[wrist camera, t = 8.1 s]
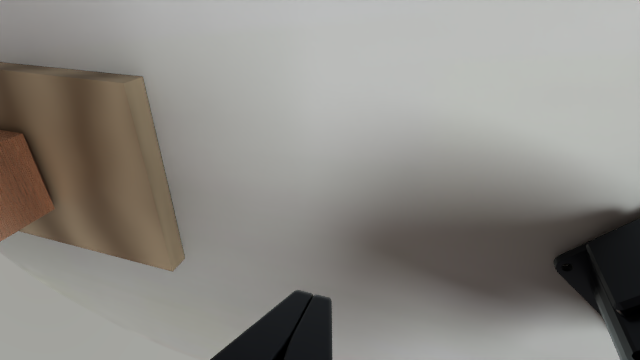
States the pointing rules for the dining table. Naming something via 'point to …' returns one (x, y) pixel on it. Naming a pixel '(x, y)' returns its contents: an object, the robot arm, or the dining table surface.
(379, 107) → the dining table surface
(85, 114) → the bearing base
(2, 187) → the shaft
